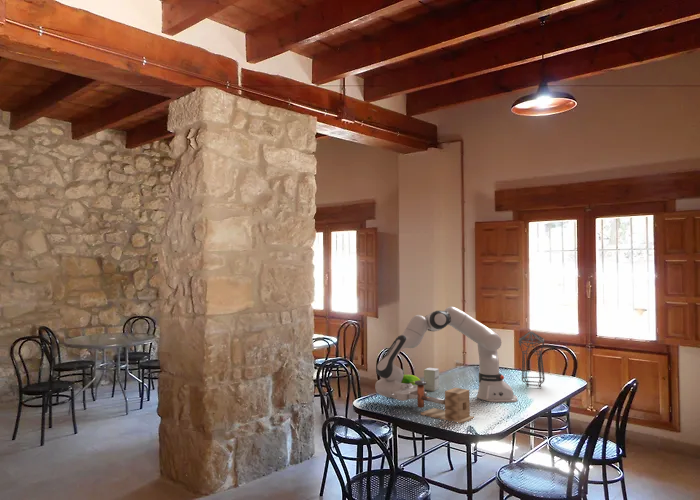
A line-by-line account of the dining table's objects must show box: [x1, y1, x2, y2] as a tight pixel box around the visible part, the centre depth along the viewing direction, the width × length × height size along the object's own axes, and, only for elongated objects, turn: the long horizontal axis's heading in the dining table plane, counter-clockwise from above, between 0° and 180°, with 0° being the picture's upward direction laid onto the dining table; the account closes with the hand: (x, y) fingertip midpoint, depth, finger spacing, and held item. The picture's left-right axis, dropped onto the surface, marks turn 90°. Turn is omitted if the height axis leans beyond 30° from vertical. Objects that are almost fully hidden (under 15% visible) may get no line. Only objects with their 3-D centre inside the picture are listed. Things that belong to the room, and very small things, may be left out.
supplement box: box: [423, 367, 440, 392], centre depth 316 cm, size 7×7×13 cm
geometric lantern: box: [518, 331, 546, 388], centre depth 323 cm, size 16×16×35 cm
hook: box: [415, 379, 445, 409], centre depth 265 cm, size 18×6×13 cm, turn 48°
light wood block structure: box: [420, 387, 475, 424], centre depth 258 cm, size 24×12×14 cm, turn 48°
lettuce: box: [401, 374, 421, 385], centre depth 305 cm, size 14×20×12 cm
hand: (422, 395), depth 269 cm, fingers open, 7 cm apart
